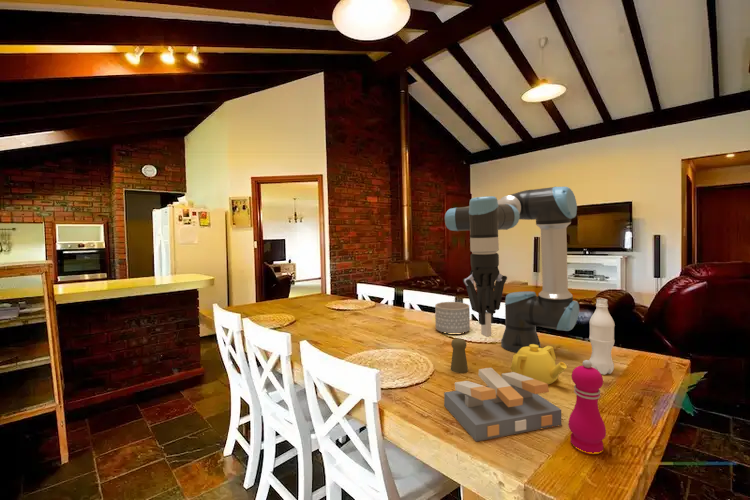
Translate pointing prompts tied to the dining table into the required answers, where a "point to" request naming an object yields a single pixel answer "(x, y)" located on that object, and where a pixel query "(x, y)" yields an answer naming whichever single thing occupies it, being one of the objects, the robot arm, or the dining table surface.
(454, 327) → the planter
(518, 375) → the rocker
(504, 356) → the dining table surface
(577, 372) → the pepper mill
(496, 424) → the switch box
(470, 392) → the rocker
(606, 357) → the water bottle
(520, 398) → the rocker
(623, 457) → the dining table surface
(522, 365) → the teapot
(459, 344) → the olive brown shaker
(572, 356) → the dining table surface
